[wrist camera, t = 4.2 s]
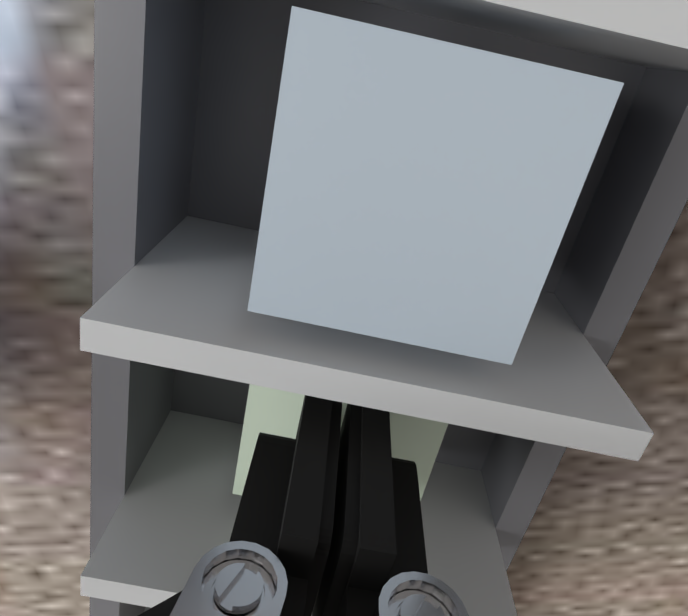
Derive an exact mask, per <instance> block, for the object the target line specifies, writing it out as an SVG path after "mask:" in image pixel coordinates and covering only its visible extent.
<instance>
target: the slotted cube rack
mask: <svg viewBox="0 0 688 616" xmlns="http://www.w3.org/2000/svg"><path fill="white" fill-rule="evenodd" d="M292 6H295V7H299V8H304V9H308V10H312V11H317V12H321V13H325V14H329V15H334V16H338V17H342V18H347V19H351V20H355V21H360V22H364V23H368V24H373V25H377V26H381V27H385V28H390V29H394V30H398V31H403V32H407V33H411V34H416V35H420V36H424V37H429V38H433V39H437V40H441V41H446V42H450V43H454V44H459V45H463V46H467V47H472V48H476V49H480V50H485V51H489V52H493V53H497V54H502V55H506V56H510V57H515V58H519V59H523V60H528V61H532V62H536V63H541V64H545V65H549V66H553V67H558V68H562V69H566V70H571V71H575V72H579V73H584V74H588V75H592V76H597V77H601V78H605V79H609V80H614V81H618V82H622V83H624V85H623V87H622V90H621V92H620V95H619V97H618V100H617V102H616V105H615V107H614V110H613V112H612V115H611V117H610V120H609V122H608V125H607V127H606V130H605V132H604V135H603V137H602V140H601V142H600V145H599V147H598V150H597V152H596V155H595V157H594V160H593V162H592V165H591V167H590V170H589V172H588V175H587V177H586V180H585V182H584V185H583V187H582V190H581V192H580V195H579V197H578V200H577V202H576V205H575V207H574V210H573V212H572V215H571V217H570V220H569V222H568V225H567V227H566V230H565V232H564V235H563V237H562V240H561V242H560V245H559V247H558V250H557V253H556V255H555V258H554V260H553V263H552V265H551V268H550V270H549V273H548V275H547V278H546V280H545V283H544V285H543V288H542V290H541V293H540V295H539V298H538V300H537V303H536V305H535V308H534V310H533V313H532V315H531V318H530V320H529V323H528V325H527V328H526V330H525V333H524V335H523V338H522V340H521V343H520V345H519V348H518V350H517V353H516V355H515V358H514V360H513V363H512V365H509V364H504V363H499V362H494V361H489V360H485V359H480V358H475V357H470V356H465V355H460V354H455V353H450V352H446V351H441V350H436V349H431V348H426V347H421V346H416V345H411V344H407V343H402V342H397V341H392V340H387V339H382V338H377V337H372V336H368V335H363V334H358V333H353V332H348V331H343V330H338V329H333V328H329V327H324V326H319V325H314V324H309V323H304V322H299V321H294V320H290V319H285V318H280V317H275V316H270V315H265V314H260V313H255V312H251V311H247V310H248V303H249V297H250V290H251V283H252V276H253V269H254V262H255V255H256V249H257V242H258V235H259V228H260V221H261V214H262V207H263V200H264V194H265V187H266V180H267V173H268V166H269V159H270V152H271V146H272V139H273V132H274V125H275V118H276V111H277V104H278V98H279V91H280V84H281V77H282V70H283V63H284V56H285V50H286V43H287V36H288V29H289V22H290V15H291V8H292ZM687 200H688V0H95V15H94V140H93V265H92V307H91V308H90V309H89V310H88V311H87V312H85V313H84V314H83V315H82V316H81V317H80V350H81V351H86V352H91V353H92V389H91V514H90V560H89V561H88V563H87V565H86V567H85V569H84V571H83V572H82V574H81V595H82V596H88V597H90V616H138V615H140V614H142V613H143V612H145V611H147V610H149V609H150V608H152V607H154V606H156V605H157V604H159V603H161V602H163V601H165V600H166V599H168V598H170V597H172V596H173V595H175V594H177V593H179V592H180V591H182V590H183V589H184V587H185V585H186V583H187V581H188V579H189V577H190V575H191V573H192V571H193V569H194V567H195V566H196V564H197V563H198V562H199V560H200V559H201V558H202V556H203V555H204V554H206V553H207V552H208V551H210V550H211V549H212V548H214V547H216V546H218V545H221V544H224V543H226V542H229V541H230V537H231V533H232V530H233V526H234V523H235V519H236V515H237V512H238V508H239V504H240V501H241V497H242V495H236V494H232V493H233V487H234V480H235V474H236V468H237V461H238V455H239V449H240V442H241V436H242V430H243V423H244V417H245V411H246V404H247V398H248V392H249V385H250V384H252V385H257V386H262V387H267V388H272V389H277V390H282V391H287V392H292V393H297V394H302V395H307V396H312V397H317V398H322V399H327V400H333V401H338V402H343V403H348V404H353V405H358V406H363V407H368V408H373V409H378V410H383V411H388V412H393V413H398V414H403V415H408V416H413V417H418V418H423V419H428V420H433V421H438V422H443V423H448V426H447V429H446V432H445V434H444V437H443V440H442V443H441V446H440V448H439V451H438V454H437V457H436V459H435V462H434V465H433V468H432V471H431V473H430V476H429V479H428V482H427V484H426V487H425V490H424V493H423V496H422V498H421V501H420V502H421V512H422V521H423V531H424V540H425V550H426V559H427V569H428V574H429V575H431V576H433V577H436V578H438V579H440V580H442V581H443V582H444V583H445V584H447V585H448V586H449V587H450V588H452V589H453V590H454V592H455V593H456V594H457V595H458V596H459V598H460V599H461V600H462V602H463V604H464V606H465V608H466V610H467V612H468V615H469V616H517V612H516V608H515V604H514V600H513V596H512V592H511V588H510V584H509V581H508V577H507V573H506V571H507V569H508V567H509V565H510V563H511V561H512V559H513V557H514V555H515V553H516V550H517V548H518V546H519V544H520V542H521V540H522V538H523V536H524V534H525V532H526V530H527V528H528V526H529V524H530V522H531V520H532V518H533V516H534V514H535V512H536V509H537V507H538V505H539V503H540V501H541V499H542V497H543V495H544V493H545V491H546V489H547V487H548V485H549V483H550V481H551V479H552V477H553V475H554V473H555V471H556V469H557V466H558V464H559V462H560V460H561V458H562V456H563V454H564V452H565V450H566V448H567V447H569V448H574V449H579V450H584V451H589V452H594V453H599V454H604V455H609V456H614V457H619V458H624V459H629V460H634V461H639V459H640V457H641V456H642V454H643V452H644V450H645V448H646V447H647V445H648V443H649V441H650V440H651V438H652V436H653V434H654V433H653V431H652V430H651V429H650V427H649V426H648V424H647V423H646V422H645V420H644V419H643V417H642V416H641V415H640V413H639V412H638V410H637V409H636V408H635V406H634V405H633V403H632V402H631V401H630V399H629V398H628V396H627V395H626V394H625V392H624V391H623V389H622V388H621V387H620V385H619V384H618V382H617V381H616V380H615V378H614V377H613V375H612V374H611V373H610V371H609V370H608V368H607V367H606V366H607V364H608V362H609V360H610V358H611V356H612V354H613V352H614V350H615V348H616V346H617V344H618V341H619V339H620V337H621V335H622V333H623V331H624V329H625V327H626V325H627V323H628V321H629V319H630V317H631V315H632V313H633V311H634V309H635V307H636V305H637V303H638V301H639V298H640V296H641V294H642V292H643V290H644V288H645V286H646V284H647V282H648V280H649V278H650V276H651V274H652V272H653V270H654V268H655V266H656V264H657V262H658V260H659V257H660V255H661V253H662V251H663V249H664V247H665V245H666V243H667V241H668V239H669V237H670V235H671V233H672V231H673V229H674V227H675V225H676V223H677V221H678V219H679V217H680V214H681V212H682V210H683V208H684V206H685V204H686V202H687ZM311 616H312V615H311Z"/></svg>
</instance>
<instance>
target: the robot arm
mask: <svg viewBox="0 0 688 616" xmlns="http://www.w3.org/2000/svg"><path fill="white" fill-rule="evenodd" d="M341 415H342V402H338V401H333V400H327V399H322V398H317V397H312V396H307V395H305V397H304V401H303V406H302V411H301V415H300V420H299V425H298V429H297V434H296V439H293V438H287V437H282V436H277V435H272V434H266V433H261V432H260V433H259V435H258V439H257V442H256V446H255V449H254V453H253V457H252V460H251V464H250V468H249V471H248V475H247V479H246V482H245V486H244V490H243V493H242V497H241V501H240V504H239V508H238V512H237V515H236V519H235V523H234V526H233V530H232V533H231V537H230V541H229V542H226V543H224V544H221V545H218V546H216V547H214V548H212V549H211V550H210V551H208V552H207V553H206V554H204V555H203V556H202V558H201V559H200V560H199V562H198V563H197V564H196V566H195V567H194V569H193V571H192V573H191V575H190V577H189V579H188V581H187V583H186V585H185V587H184V589H183V590H182V591H180V592H179V593H177V594H175V595H173V596H172V597H170V598H168V599H166V600H165V601H163V602H161V603H159V604H157V605H156V606H154V607H152V608H150V609H149V610H147V611H145V612H143V613H142V614H140V615H138V616H311V615H312V616H469V615H468V612H467V610H466V608H465V606H464V604H463V602H462V600H461V599H460V598H459V596H458V595H457V594H456V593H455V592H454V590H453V589H452V588H450V587H449V586H448V585H447V584H445V583H444V582H443V581H442V580H440V579H438V578H436V577H433V576H431V575H429V574H428V569H427V559H426V550H425V540H424V531H423V521H422V512H421V502H420V493H419V483H418V474H417V467H416V464H415V462H414V461H409V460H404V459H398V458H393V457H392V453H391V433H390V413H389V412H388V411H383V410H378V409H373V408H368V407H363V406H358V405H353V404H348V403H347V407H346V411H345V415H344V419H343V422H342V426H341ZM340 429H341V430H340Z"/></svg>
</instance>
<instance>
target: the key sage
mask: <svg viewBox="0 0 688 616" xmlns="http://www.w3.org/2000/svg"><path fill="white" fill-rule="evenodd" d="M304 397H305V395H302V394H297V393H292V392H287V391H282V390H277V389H272V388H267V387H262V386H257V385H252V384H250V385H249V392H248V398H247V404H246V411H245V417H244V423H243V430H242V436H241V442H240V449H239V455H238V461H237V468H236V474H235V480H234V487H233V493H232V494H236V495H242V493H243V490H244V486H245V482H246V479H247V475H248V471H249V468H250V464H251V460H252V457H253V453H254V449H255V446H256V442H257V439H258V435H259V433H260V432H261V433H266V434H272V435H277V436H282V437H287V438H293V439H296V434H297V429H298V425H299V420H300V415H301V411H302V406H303V401H304ZM346 407H347V403H343V402H342V415H341V426H342V422H343V419H344V415H345V411H346ZM389 413H390V433H391V453H392V457H393V458H398V459H404V460H409V461H414V462H415V464H416V467H417V474H418V483H419V493H420V501H421V498H422V496H423V493H424V490H425V487H426V484H427V482H428V479H429V476H430V473H431V471H432V468H433V465H434V462H435V459H436V457H437V454H438V451H439V448H440V446H441V443H442V440H443V437H444V434H445V432H446V429H447V426H448V423H443V422H438V421H433V420H428V419H423V418H418V417H413V416H408V415H403V414H398V413H393V412H389ZM340 430H341V429H340Z"/></svg>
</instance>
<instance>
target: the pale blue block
mask: <svg viewBox="0 0 688 616" xmlns="http://www.w3.org/2000/svg"><path fill="white" fill-rule="evenodd" d="M623 85H624V83H622V82H618V81H614V80H609V79H605V78H601V77H597V76H592V75H588V74H584V73H579V72H575V71H571V70H566V69H562V68H558V67H553V66H549V65H545V64H541V63H536V62H532V61H528V60H523V59H519V58H515V57H510V56H506V55H502V54H497V53H493V52H489V51H485V50H480V49H476V48H472V47H467V46H463V45H459V44H454V43H450V42H446V41H441V40H437V39H433V38H429V37H424V36H420V35H416V34H411V33H407V32H403V31H398V30H394V29H390V28H385V27H381V26H377V25H373V24H368V23H364V22H360V21H355V20H351V19H347V18H342V17H338V16H334V15H329V14H325V13H321V12H317V11H312V10H308V9H304V8H299V7H295V6H292V8H291V15H290V22H289V29H288V36H287V43H286V50H285V56H284V63H283V70H282V77H281V84H280V91H279V98H278V104H277V111H276V118H275V125H274V132H273V139H272V146H271V152H270V159H269V166H268V173H267V180H266V187H265V194H264V200H263V207H262V214H261V221H260V228H259V235H258V242H257V249H256V255H255V262H254V269H253V276H252V283H251V290H250V297H249V303H248V310H247V311H251V312H255V313H260V314H265V315H270V316H275V317H280V318H285V319H290V320H294V321H299V322H304V323H309V324H314V325H319V326H324V327H329V328H333V329H338V330H343V331H348V332H353V333H358V334H363V335H368V336H372V337H377V338H382V339H387V340H392V341H397V342H402V343H407V344H411V345H416V346H421V347H426V348H431V349H436V350H441V351H446V352H450V353H455V354H460V355H465V356H470V357H475V358H480V359H485V360H489V361H494V362H499V363H504V364H509V365H512V363H513V360H514V358H515V355H516V353H517V350H518V348H519V345H520V343H521V340H522V338H523V335H524V333H525V330H526V328H527V325H528V323H529V320H530V318H531V315H532V313H533V310H534V308H535V305H536V303H537V300H538V298H539V295H540V293H541V290H542V288H543V285H544V283H545V280H546V278H547V275H548V273H549V270H550V268H551V265H552V263H553V260H554V258H555V255H556V253H557V250H558V247H559V245H560V242H561V240H562V237H563V235H564V232H565V230H566V227H567V225H568V222H569V220H570V217H571V215H572V212H573V210H574V207H575V205H576V202H577V200H578V197H579V195H580V192H581V190H582V187H583V185H584V182H585V180H586V177H587V175H588V172H589V170H590V167H591V165H592V162H593V160H594V157H595V155H596V152H597V150H598V147H599V145H600V142H601V140H602V137H603V135H604V132H605V130H606V127H607V125H608V122H609V120H610V117H611V115H612V112H613V110H614V107H615V105H616V102H617V100H618V97H619V95H620V92H621V90H622V87H623Z"/></svg>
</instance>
